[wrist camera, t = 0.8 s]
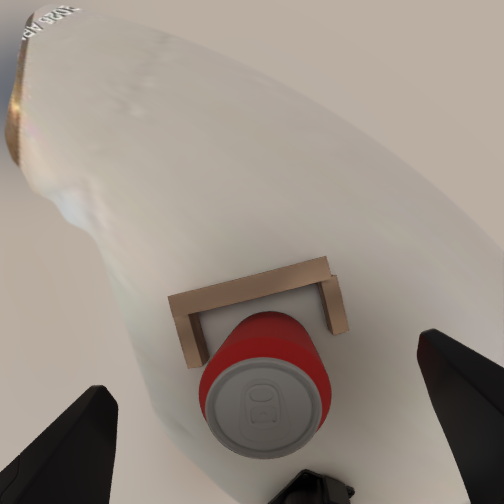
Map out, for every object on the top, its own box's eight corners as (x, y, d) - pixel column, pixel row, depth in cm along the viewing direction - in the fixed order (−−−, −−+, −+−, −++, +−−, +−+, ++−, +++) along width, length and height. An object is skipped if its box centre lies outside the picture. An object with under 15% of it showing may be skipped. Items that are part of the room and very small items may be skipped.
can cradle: (342, 324, 24) (355, 336, 20) (196, 360, 25) (180, 376, 21) (325, 256, 25) (336, 253, 20) (177, 294, 26) (158, 298, 21)
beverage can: (233, 390, 25) (201, 470, 13) (224, 313, 25) (179, 348, 13) (313, 384, 24) (337, 463, 12) (308, 305, 25) (335, 336, 13)
